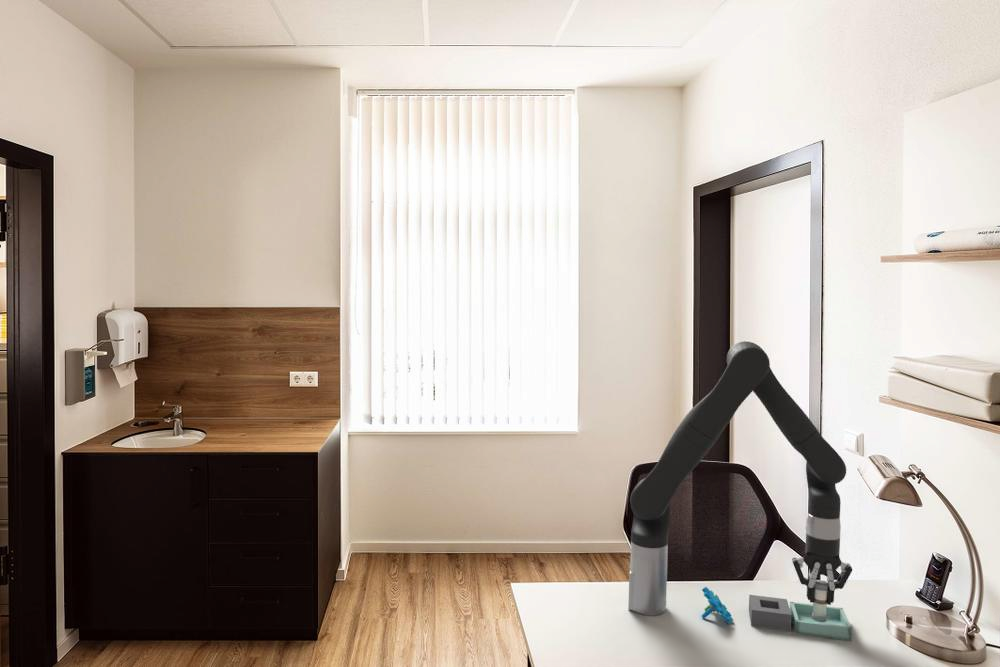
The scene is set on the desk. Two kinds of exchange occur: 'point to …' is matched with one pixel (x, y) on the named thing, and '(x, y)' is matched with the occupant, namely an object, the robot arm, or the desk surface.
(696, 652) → the desk surface
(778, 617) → the block
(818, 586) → the cylinder
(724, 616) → the blue plastic angular piece
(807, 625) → the parts tray
